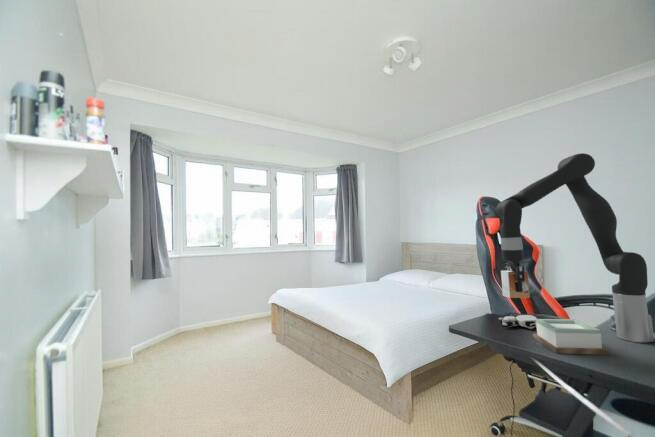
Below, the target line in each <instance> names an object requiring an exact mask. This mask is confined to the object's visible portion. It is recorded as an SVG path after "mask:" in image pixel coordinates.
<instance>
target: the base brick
mask: <svg viewBox="0 0 655 437" xmlns="http://www.w3.org/2000/svg"><path fill="white" fill-rule="evenodd" d="M536 326H537V327H536V334H537V335H538V336H540V337H541V338H543V339H544V340H546V341H548V342H549V343H551V344H552V345H554V346H555V347H561V348H602V347H603V346H602V343H603V342H602V335H601V334H602V333H601V329H599V328H596V327H594V326H592V325H590V324H587V323H585V322H582V321H580V320H578V319H577V318H573V319H567V318H561V319H560V318H556V319H555V318H554V319H553V318H537V319H536Z"/></svg>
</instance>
